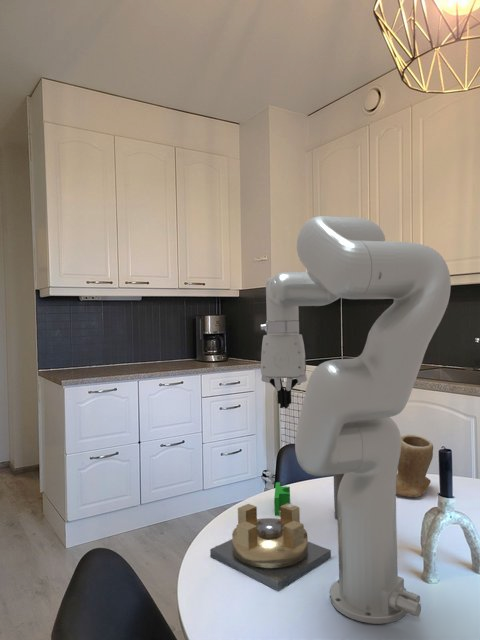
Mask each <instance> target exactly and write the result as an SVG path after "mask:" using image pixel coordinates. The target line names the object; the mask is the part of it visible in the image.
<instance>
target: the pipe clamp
mask: <svg viewBox="0 0 480 640" xmlns="http://www.w3.org/2000/svg"><path fill="white" fill-rule="evenodd" d="M273 497H274V516H276V517H277V516H280V506H282V505H285V504H287V503H289V504H291V487H290V486H283V485H282V486H281V482H275V488H274V496H273Z"/></svg>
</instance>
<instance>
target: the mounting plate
mask: <svg viewBox="0 0 480 640" xmlns="http://www.w3.org/2000/svg"><path fill="white" fill-rule="evenodd" d="M209 551H210V552H209V553H210V556H209V557H210V558H212V559H214V560H216V561H218V562H220V563H222V564H224V565H226V566H228V567H230V568H232V569H234V570H236V571H237V572H239V573H242V574H243V575H245V576H247V577H249V578H252V579H254V580H255V581H258V582H259V583H261V584H263V585H265V586H267V587H269V588H272V589H274V590H275V591H277V592H279V591H280V590H282V589H284V588H285V587H288V586H289V585H290V584H291V583H294V582H295V581H297V580H298V579H300V578H301V577H304V575H307V574H308V573H309V572H311V571H313V570H314V569H316V568H317V567H319V566H321V565H322V564H324V563H325V562H327V561H328V560H330V559H331V558H332V555H331V554H332V552H331V551H332V550H331V549H328V548H325V547H323V546H320V545H319V544H317V543H316V544H315V543H314V542H311V541H308V553H307V555H306V557H305V558H304V559H303V560H301V561H300V562H298V563H296V564H293V565H290V566H286V567H280V568H261V567H255V566H251V565H248V564H246V563H243V562H241V561H240V560H238V559H237V558H236V557H235V555H234V554H233V545H232V539H229V540H227V541H225V542H223V543H221V544H219V545H216V546H214V547H212V548H209Z"/></svg>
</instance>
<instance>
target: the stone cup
mask: <svg viewBox="0 0 480 640" xmlns="http://www.w3.org/2000/svg"><path fill="white" fill-rule="evenodd" d="M433 456H434V445H433V442H431V441H430V440H428V439H427V438H425V437H422V436H420V435H416V434H415V435H414V434H404V435H402V436H401V452H400V458H399V463H398V469H397V478H396V495H398V496H403V497H404V496H405V497H410V498H411V497H413V498H417V497H420V496H422V495H423V494H424V493H425V492H426V491H427V490H428V488H429V486H430V484H431V483H432V481H431V479H429V478H428V477H427V473H428V470H429V469H430V465H431V463H432V460H433Z"/></svg>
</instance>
